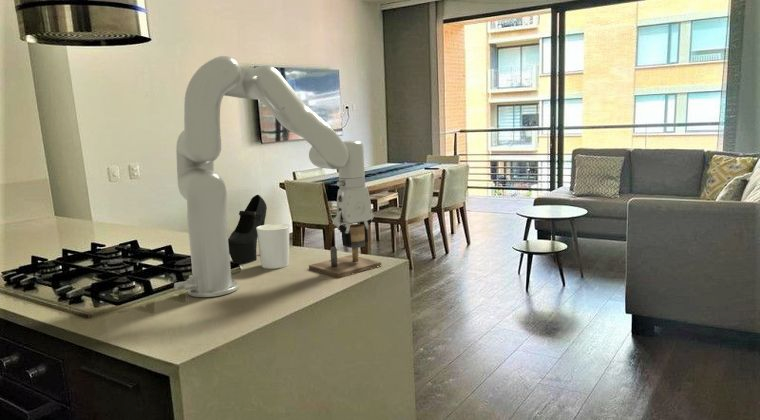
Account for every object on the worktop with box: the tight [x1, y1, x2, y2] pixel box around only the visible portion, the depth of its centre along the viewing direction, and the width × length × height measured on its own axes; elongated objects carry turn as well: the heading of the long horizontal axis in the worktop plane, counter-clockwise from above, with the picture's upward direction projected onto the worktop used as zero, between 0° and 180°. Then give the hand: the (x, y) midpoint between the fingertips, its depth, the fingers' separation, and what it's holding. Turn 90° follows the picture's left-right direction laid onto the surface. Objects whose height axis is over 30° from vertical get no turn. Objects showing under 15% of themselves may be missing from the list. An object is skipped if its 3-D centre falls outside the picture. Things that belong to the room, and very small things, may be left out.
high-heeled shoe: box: [228, 194, 268, 264], centre depth 174 cm, size 8×19×20 cm, turn 158°
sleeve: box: [345, 223, 366, 249], centre depth 162 cm, size 6×6×6 cm
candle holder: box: [256, 223, 290, 270], centre depth 166 cm, size 10×10×12 cm
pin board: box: [308, 245, 382, 278], centre depth 160 cm, size 16×14×7 cm
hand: (355, 243), depth 163 cm, fingers closed on sleeve, 5 cm apart
